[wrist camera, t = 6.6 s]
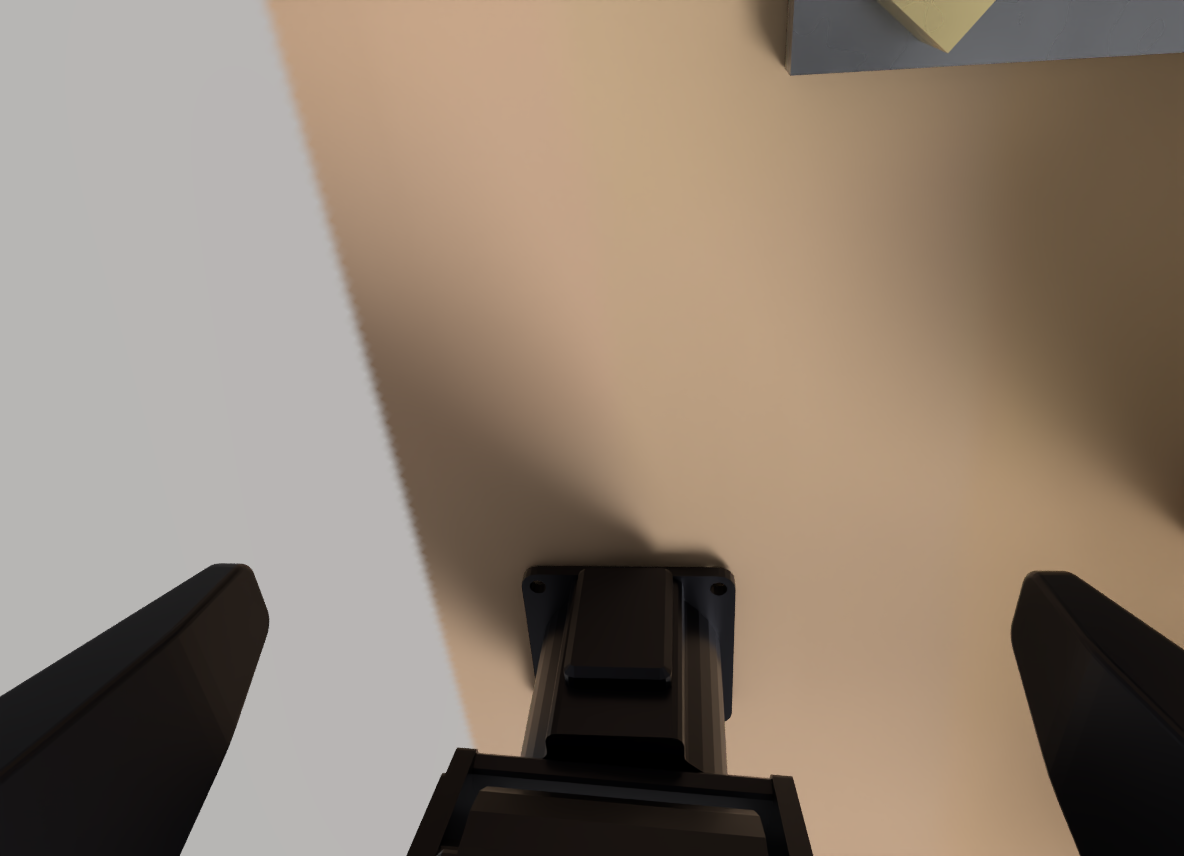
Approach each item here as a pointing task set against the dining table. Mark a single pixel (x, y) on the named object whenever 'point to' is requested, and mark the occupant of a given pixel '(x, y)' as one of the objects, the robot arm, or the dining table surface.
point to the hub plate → (973, 32)
